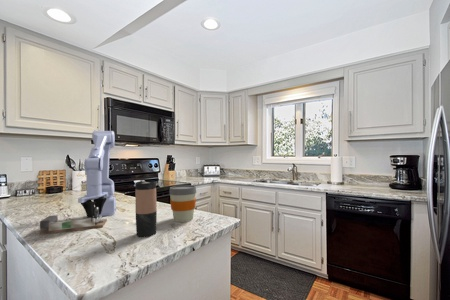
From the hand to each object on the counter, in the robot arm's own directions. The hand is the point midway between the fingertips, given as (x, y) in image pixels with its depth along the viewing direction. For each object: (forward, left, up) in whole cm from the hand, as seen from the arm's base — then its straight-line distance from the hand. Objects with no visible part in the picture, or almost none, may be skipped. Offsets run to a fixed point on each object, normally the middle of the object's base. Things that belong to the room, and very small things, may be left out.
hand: (94, 215), depth 94 cm
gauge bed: (+7, 0, -4) cm, 8 cm away
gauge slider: (0, +1, -2) cm, 2 cm away
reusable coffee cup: (-38, +6, -4) cm, 39 cm away
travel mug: (-22, +20, -4) cm, 30 cm away
